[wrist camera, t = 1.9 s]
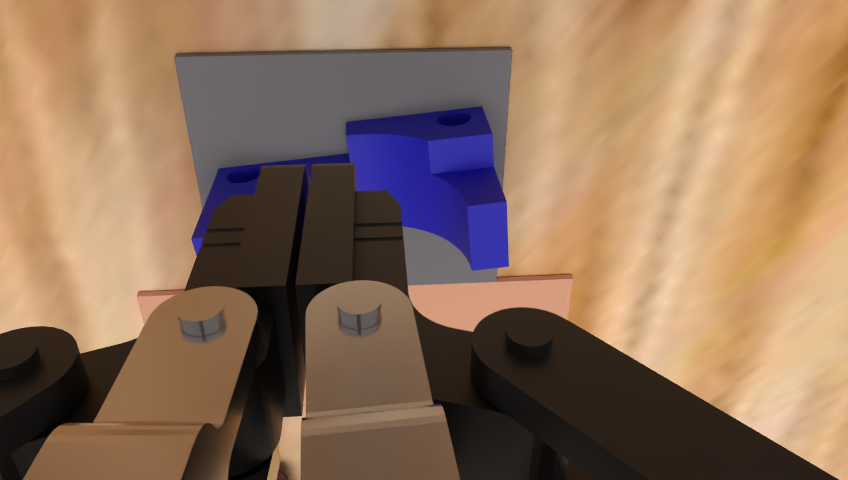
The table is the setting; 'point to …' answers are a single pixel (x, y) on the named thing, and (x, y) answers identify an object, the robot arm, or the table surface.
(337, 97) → the t mat
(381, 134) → the blue cradle block
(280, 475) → the bolt
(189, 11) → the table surface
